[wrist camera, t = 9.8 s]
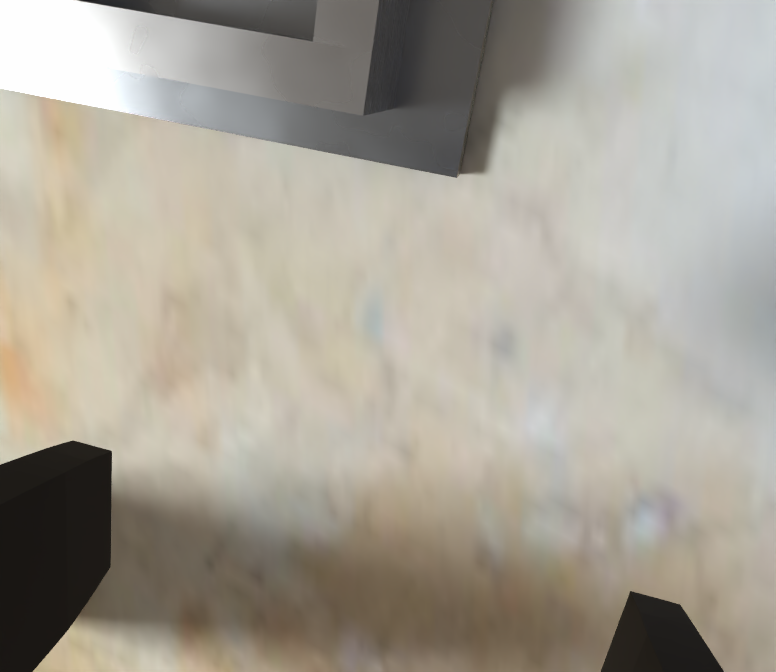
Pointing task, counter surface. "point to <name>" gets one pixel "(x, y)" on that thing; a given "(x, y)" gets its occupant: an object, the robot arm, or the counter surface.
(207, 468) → the counter surface
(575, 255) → the counter surface
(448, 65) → the port
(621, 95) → the counter surface
